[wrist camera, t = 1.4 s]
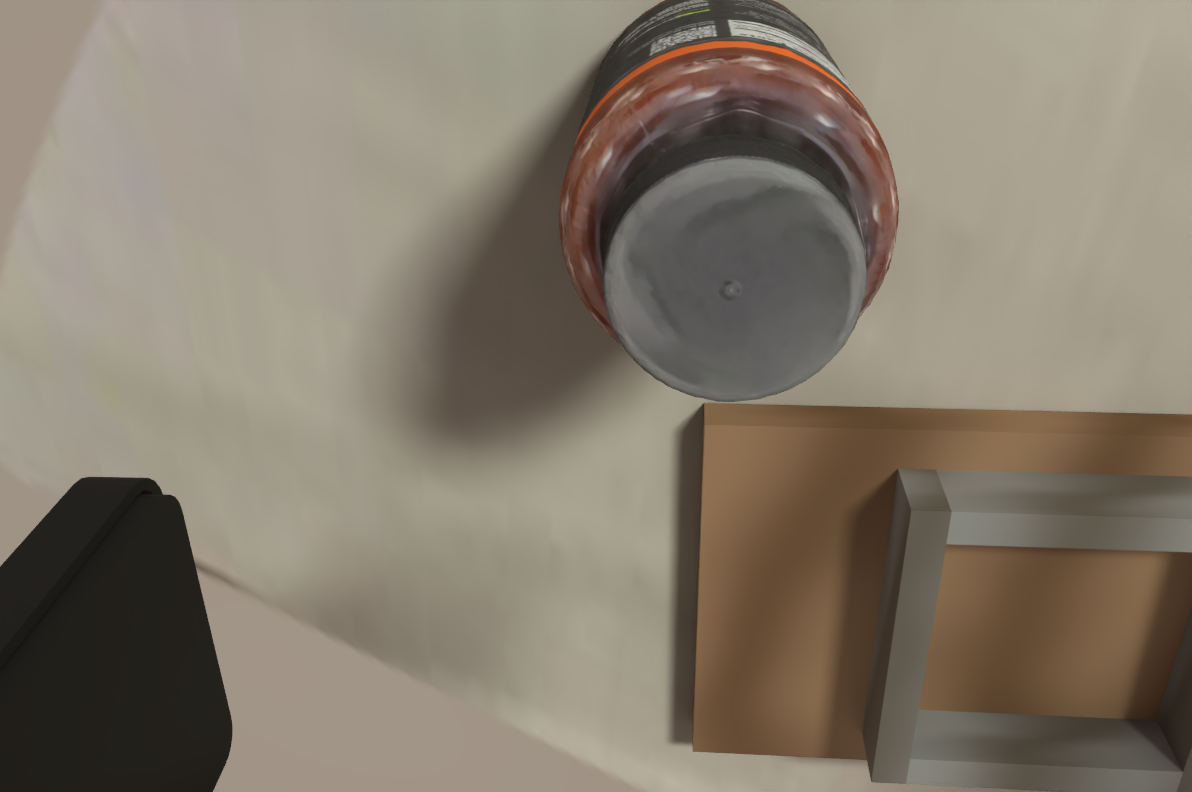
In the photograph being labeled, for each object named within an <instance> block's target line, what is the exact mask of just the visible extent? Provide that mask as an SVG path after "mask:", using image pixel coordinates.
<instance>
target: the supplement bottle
mask: <svg viewBox="0 0 1192 792" xmlns="http://www.w3.org/2000/svg"><path fill="white" fill-rule="evenodd" d="M898 213H899V201H898V196H897V187H896V182H895V177H894V172H893V168H892V165H891V161H890V158H889V154H888V152H887V149H886V147H885V145H884V142H883V140H882V138H881V136H880V134H879V132H878V130H877V128H876V127H875V125H874V124H873V122H872V120H871V118H870V117H869V115H868V113H867V111H866V110H865V108H864V106H863V105H862V103H861V102H860V100H859V99H858V97H857V96H856V94H855V93H854V91H853V90H852V88H851V87H850V85H849V84H848V82H847V81H846V79H845V77H844V76H843V74H842V73H841V71H840V70H839V68H838V67H837V65H836V63H835V62H834V60H833V59H832V58H831V56H830V54H829V53H828V51H827V50H826V48H825V46H824V44H823V43H822V42H821V40H820V39H819V38H818V36H817V35H816V34H815V32H814V31H813V30H812V29H811V28H810V27H809V26H807V25H806V24H805V23H804V22H803V21H802V20H801V19H800V18H798V17H797V16H796V15H795V14H794V13H792V12H791V11H789V10H788V9H787V8H786V7H785V6H783V5H781V4H779V3H778V2H775V1H773V0H665V1H663V2H661V3H659V4H658V5H656V6H654V7H653V8H651V9H650V10H648V11H646V12H645V13H643V14H642V15H641V16H640V17H639V18H637V19H636V20H635V21H634V22H633V23H632V24H630V25H629V26H628V27H627V28H626V29H625V30H624V32H623V33H622V34H621V35H620V37H619V38H618V39H617V40H616V41H615V42H614V44H613V46H612V47H611V49H610V51H609V52H608V54H607V56H606V57H605V59H604V61H603V63H602V65H601V68H600V70H599V73H598V76H597V78H596V81H595V84H594V88H593V90H592V94H591V97H590V100H589V103H588V106H587V109H586V111H585V115H584V118H583V120H582V123H581V126H580V129H579V133H578V136H577V139H576V143H575V145H574V149H573V153H572V156H571V159H570V161H569V165H568V168H567V171H566V175H565V179H564V183H563V186H562V191H561V198H560V208H559V225H560V237H561V244H562V251H563V255H564V259H565V262H566V266H567V269H568V272H569V274H570V277H571V280H572V283H573V285H574V287H575V289H576V290H577V292H578V294H579V296H580V298H581V299H582V301H583V303H584V304H585V306H586V307H587V309H588V310H589V312H590V313H591V315H592V316H593V318H594V319H595V320H596V321H597V322H598V323H599V324H600V325H601V327H602V328H604V329H605V330H606V331H607V332H608V334H609V335H610V336H612V337H613V338H614V339H615V340H616V341H617V342H619V343H620V344H622V345H623V347H624V348H625V350H626V351H627V352H628V353H629V354H630V356H631V357H632V358H633V359H634V360H635V361H636V362H637V364H638V365H640V366H641V367H642V368H643V369H644V370H645V371H646V372H648V373H649V374H651V375H652V376H653V377H654V378H655V379H657V380H659V381H661V382H662V383H664V384H665V385H667V386H669V387H671V388H673V389H676V390H678V391H680V392H683V393H686V394H688V395H691V396H694V397H700V398H705V399H709V400H714V401H723V402H734V401H744V400H755V399H761V398H764V397H767V396H770V395H775V394H778V393H781V392H783V391H786V390H789V389H791V388H793V387H795V386H796V385H798V384H800V383H802V382H804V381H806V380H807V379H809V378H810V377H811V376H813V375H814V374H816V373H817V372H819V371H820V370H821V369H822V368H823V367H824V366H825V365H826V364H827V363H828V362H829V361H830V360H831V359H832V358H833V357H834V356H835V355H836V354H837V353H838V352H839V351H840V349H841V348H842V347H843V346H844V345H845V343H846V341H847V339H848V338H849V336H850V335H851V333H852V331H853V330H854V328H855V325H856V323H857V320H858V318H859V317H860V316H861V315H862V314H863V312H864V311H865V309H866V308H867V307H868V306H869V305H870V304H871V302H872V300H873V298H874V296H875V295H876V293H877V292H878V290H879V288H880V286H881V284H882V283H883V280H884V277H885V274H886V273H887V271H888V269H889V265H890V262H891V258H892V254H893V252H894V248H895V242H896V231H897V226H898Z"/></svg>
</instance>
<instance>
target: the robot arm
mask: <svg viewBox="0 0 1192 792" xmlns="http://www.w3.org/2000/svg"><path fill="white" fill-rule="evenodd" d="M231 741H232V720H231V715H230V710H229V707H228V702H227V698H226V694H225V689H224V685H223V681H222V677H221V673H220V668H219V664H218V660H217V656H216V651H215V647H214V644H213V639H212V635H211V630H210V626H209V622H208V618H207V613H206V609H205V606H204V601H203V597H202V593H201V588H200V584H199V580H198V575H197V571H196V567H195V563H194V559H193V554H192V550H191V546H190V542H189V537H188V533H187V529H186V525H185V521H184V516H183V512H182V509H181V506H180V503H179V502H178V500H177V499H176V497H174V496H172V495H163V494H162V491H161V489H160V487H159V486H158V485H157V483H156V482H155V481H153V480H151V479H149V478H121V477H86V478H81V479H80V480H79V481H78V482H76V483H75V484H74V485H73V486H72V487H71V488H70V489H69V490H68V491H67V493H66V494H65V495H64V496H63V497H62V498H61V499H60V500H59V501H58V503H57V504H56V505H55V506H54V507H53V508H52V509H51V511H50V512H49V513H48V514H47V515H46V516H45V517H44V518H43V519H42V521H41V522H40V523H39V524H38V525H37V526H36V527H35V529H34V530H33V531H32V532H31V533H30V534H29V535H28V536H27V538H25V540H24V541H23V542H22V543H21V544H20V545H19V546H18V548H17V549H16V550H15V551H14V552H13V553H12V554H11V555H10V556H9V558H8V559H7V560H6V561H5V562H4V563H3V564H2V565H1V567H0V792H213V790H214V788H215V786H216V783H217V781H218V779H219V777H220V775H221V773H222V770H223V768H224V766H225V764H226V761H227V759H228V756H229V752H230V747H231Z"/></svg>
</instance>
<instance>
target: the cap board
mask: <svg viewBox="0 0 1192 792" xmlns="http://www.w3.org/2000/svg"><path fill="white" fill-rule="evenodd" d="M693 752H714V753H735V754H756V755H777V756H797V757H818V758H839V759H860V760H867V761H868V767H869V772H870V777H871V782H880V783H900V784H921V785H941V786H961V787H981V788H1002V789H1022V790H1042V791H1062V792H1192V415H1181V414H1138V413H1095V412H1052V411H1010V410H967V409H924V408H881V407H839V406H796V405H753V404H710V403H704V426H703V454H702V481H701V509H700V537H699V564H698V592H697V620H696V647H695V675H694V703H693Z"/></svg>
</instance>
